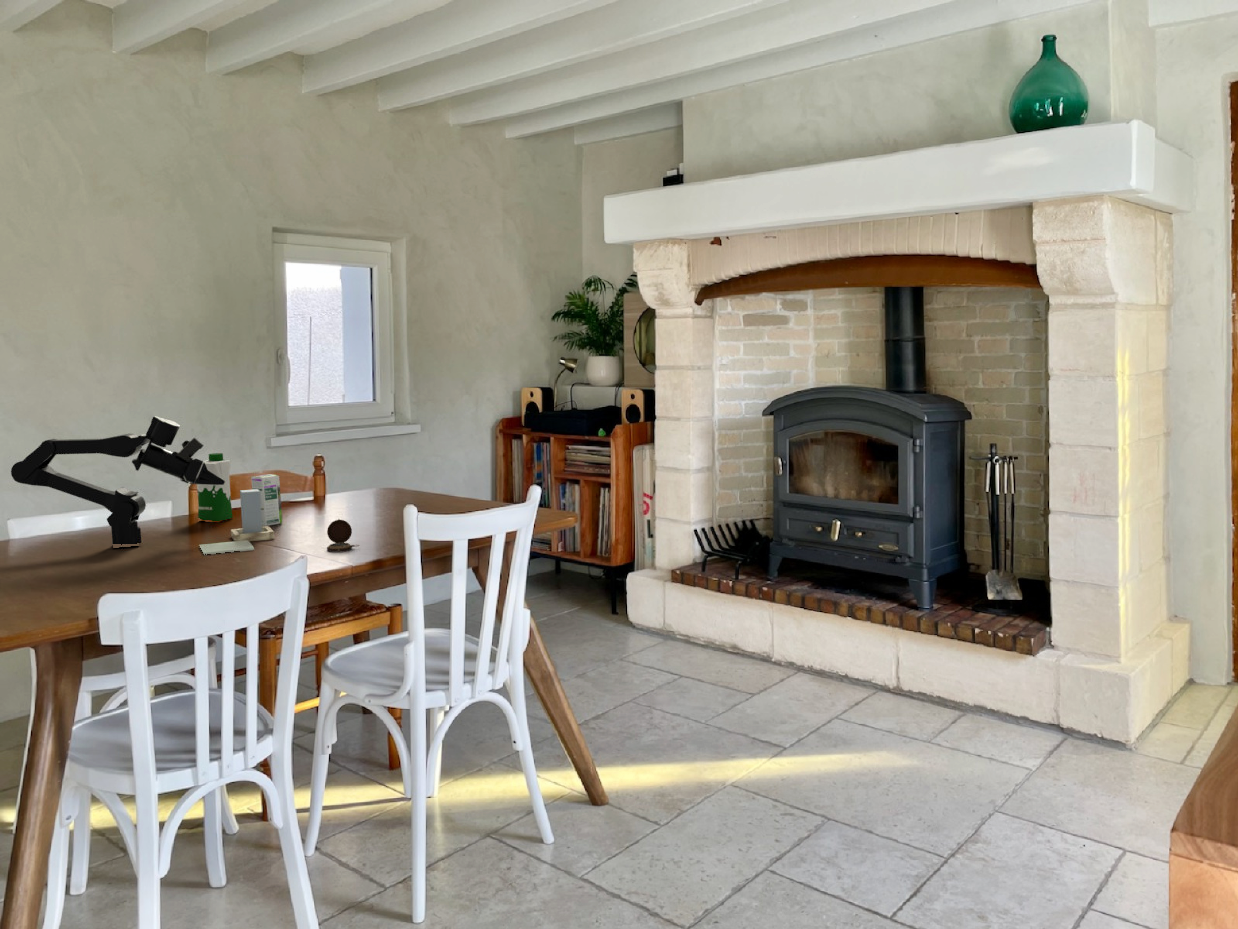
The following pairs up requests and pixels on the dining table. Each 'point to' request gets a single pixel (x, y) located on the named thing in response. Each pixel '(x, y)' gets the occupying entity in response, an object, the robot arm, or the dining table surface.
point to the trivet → (226, 547)
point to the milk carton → (215, 491)
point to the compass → (339, 535)
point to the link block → (251, 511)
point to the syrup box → (269, 498)
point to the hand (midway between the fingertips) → (222, 483)
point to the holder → (252, 534)
